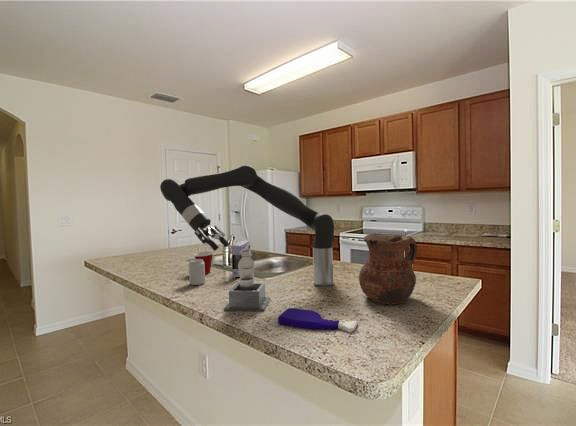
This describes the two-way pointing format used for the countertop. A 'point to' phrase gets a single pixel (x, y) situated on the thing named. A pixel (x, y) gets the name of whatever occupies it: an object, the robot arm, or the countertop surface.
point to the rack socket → (247, 299)
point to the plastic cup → (205, 259)
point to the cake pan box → (238, 255)
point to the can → (197, 272)
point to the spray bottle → (312, 320)
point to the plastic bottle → (246, 271)
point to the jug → (388, 268)
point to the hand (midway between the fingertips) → (222, 247)
